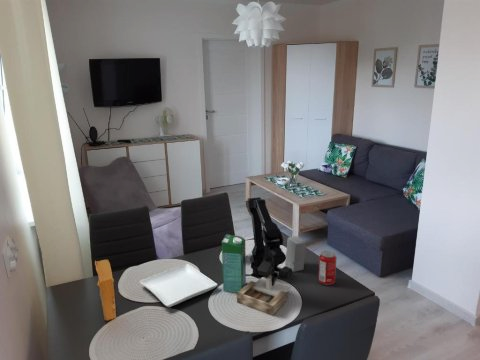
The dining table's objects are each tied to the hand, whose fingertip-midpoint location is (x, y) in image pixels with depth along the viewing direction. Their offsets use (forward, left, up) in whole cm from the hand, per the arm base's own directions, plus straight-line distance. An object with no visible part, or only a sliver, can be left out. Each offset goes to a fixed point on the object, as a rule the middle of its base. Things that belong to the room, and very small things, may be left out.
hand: (271, 285), depth 172 cm
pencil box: (0, -9, -4) cm, 10 cm away
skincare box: (-1, +27, -4) cm, 28 cm away
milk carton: (-17, -5, -4) cm, 18 cm away
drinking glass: (-32, +18, -4) cm, 37 cm away
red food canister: (+18, +22, -4) cm, 29 cm away
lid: (0, 0, -1) cm, 1 cm away
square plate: (-39, -20, -5) cm, 44 cm away
